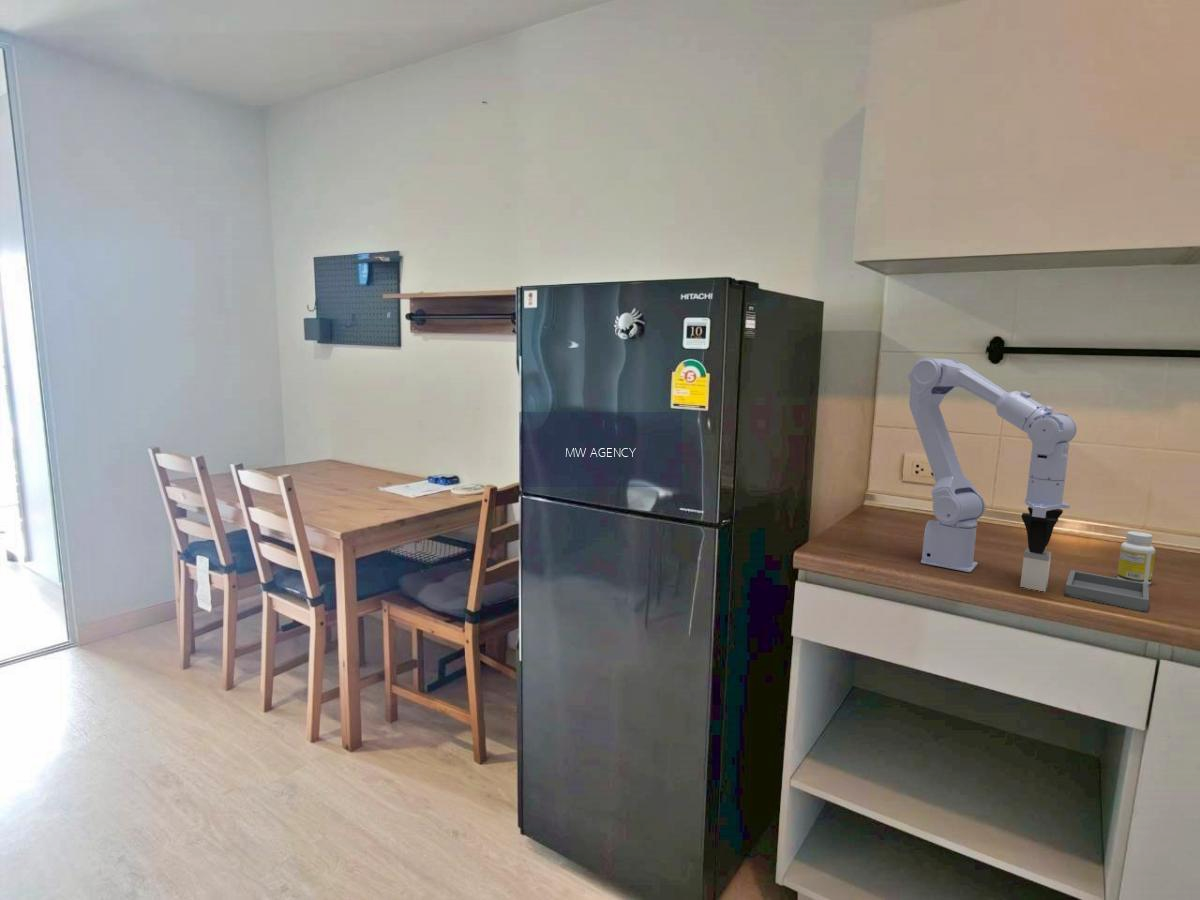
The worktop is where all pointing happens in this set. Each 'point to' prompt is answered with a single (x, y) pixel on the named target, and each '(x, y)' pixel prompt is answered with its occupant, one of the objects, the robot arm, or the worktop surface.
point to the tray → (1108, 590)
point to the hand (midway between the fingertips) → (1038, 548)
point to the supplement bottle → (1136, 558)
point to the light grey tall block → (1035, 570)
